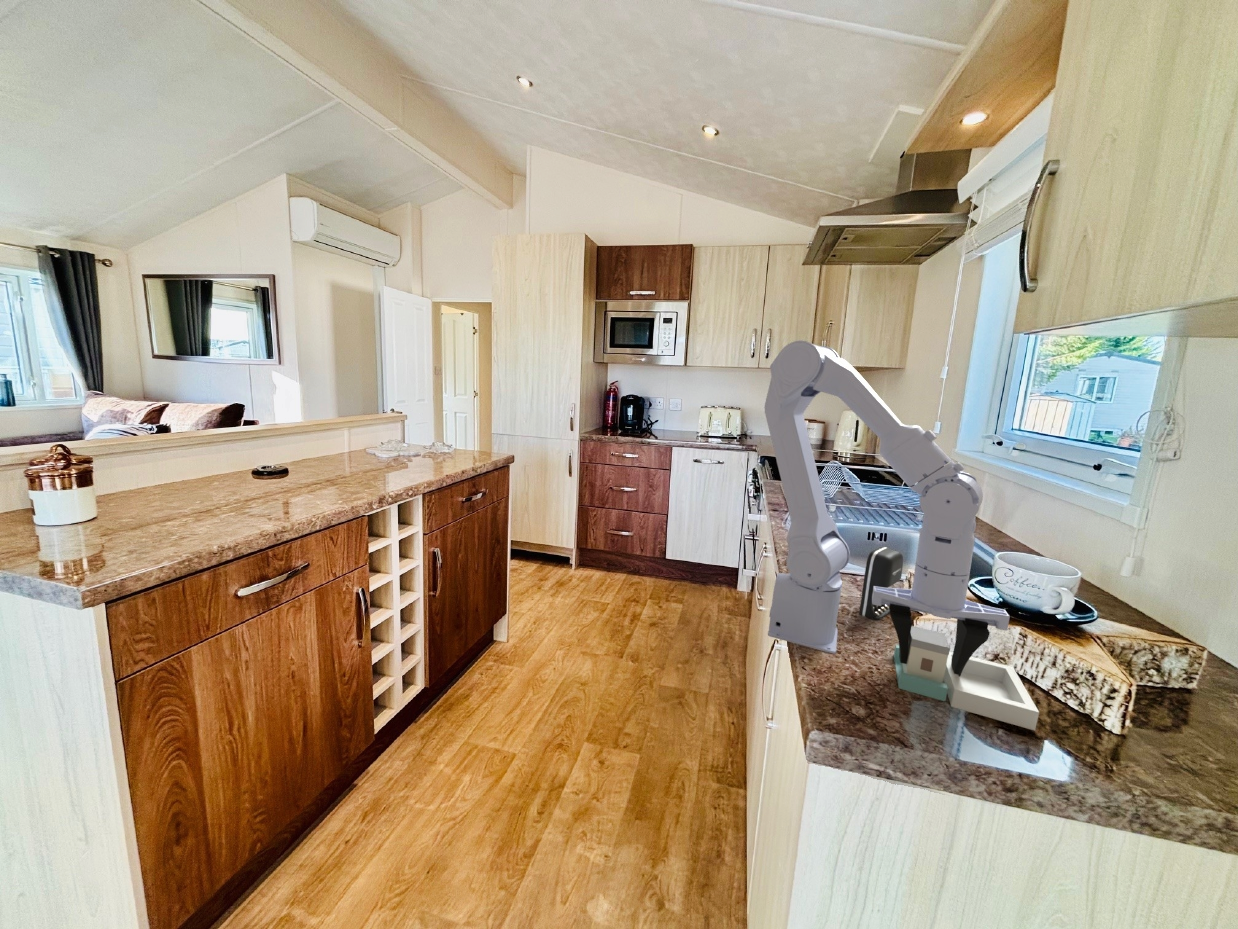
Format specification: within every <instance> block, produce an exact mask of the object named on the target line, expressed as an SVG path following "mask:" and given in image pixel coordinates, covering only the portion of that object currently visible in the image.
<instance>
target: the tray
mask: <svg viewBox="0 0 1238 929" xmlns="http://www.w3.org/2000/svg"><path fill="white" fill-rule="evenodd" d="M952 655H953V651H949V655H948V658H947V663H946V668H945V674H944V679H943V684H946V685H947V688H948V690H947V698H948V701H949V703H950V707H951V708H955V709H957V710H961V711H965V712H968V713H973V714H977V715H979V716H983V717H985V718H990V719H993V720H996V721H1000V722H1004V723H1006V724H1009V725H1010V724H1011V725H1012V726H1013V725H1015V726H1018V727H1020V728H1025V729H1027V730H1031V731H1036V727H1037V723H1038V719H1039V716H1040V711H1039V709H1038V707H1037V706H1036V704H1035V702H1034V701H1033V699H1032V697H1031V696H1030V694H1029V692H1028V691H1027V689H1026V687H1025V685H1024V684H1023V682H1022V680H1021V678H1020V676H1019V675H1018V673H1017V672H1016V670H1015V668H1014V666H1009V665H1006V664H1002V663H999V662H994V661H989V660H986V659H982V658H978V657H973V656H971V657H970V659H969V660H968V662H967V663H966V665H965V667H964V669H963V671H962V673H961V676H960V677H959V675H958V674H954V671H953V669H952V666H951V661H952Z"/></svg>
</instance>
